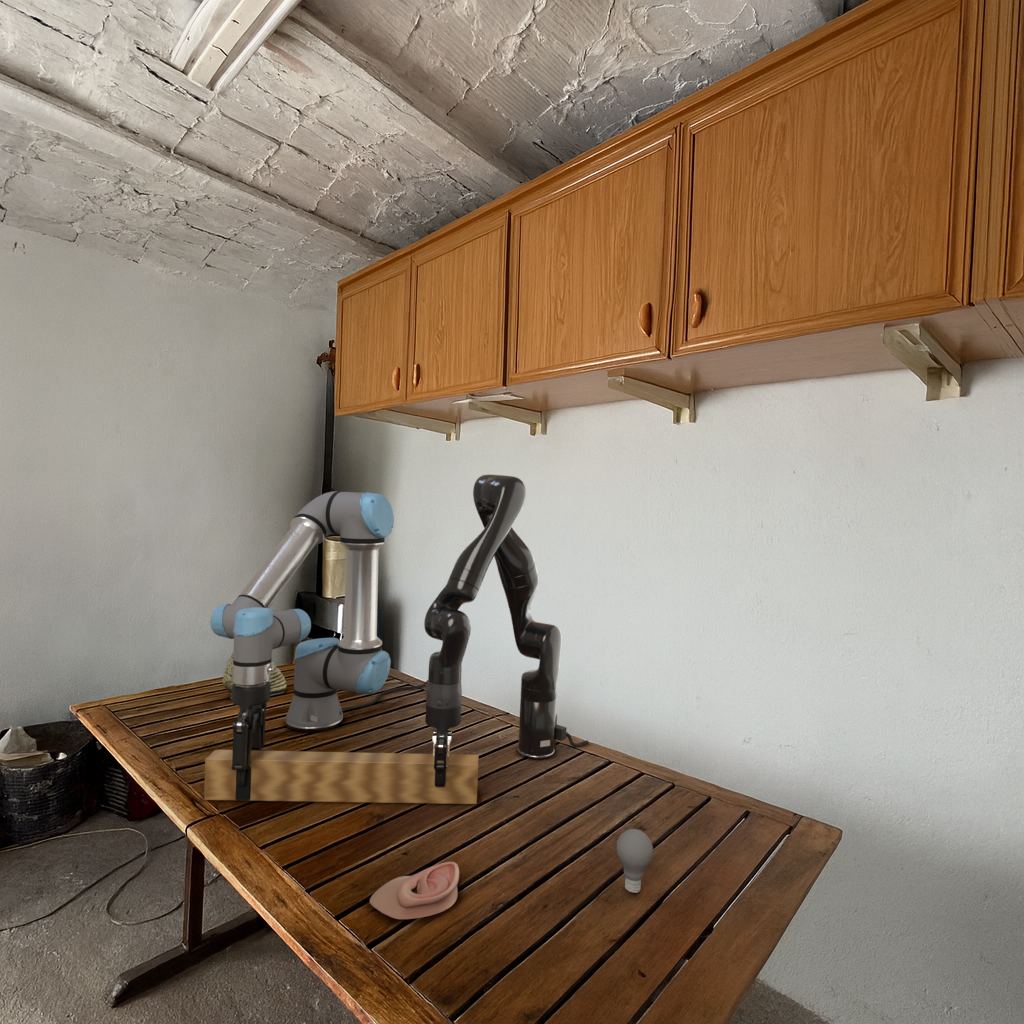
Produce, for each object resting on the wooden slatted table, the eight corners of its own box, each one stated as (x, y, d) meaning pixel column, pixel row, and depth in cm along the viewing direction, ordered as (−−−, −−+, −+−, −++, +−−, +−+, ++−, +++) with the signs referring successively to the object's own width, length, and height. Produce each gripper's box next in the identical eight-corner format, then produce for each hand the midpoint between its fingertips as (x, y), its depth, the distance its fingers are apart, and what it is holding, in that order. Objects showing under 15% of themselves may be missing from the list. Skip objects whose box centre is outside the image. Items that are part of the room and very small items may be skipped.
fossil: (218, 695, 195) (220, 647, 195) (278, 685, 208) (279, 640, 207) (228, 703, 189) (230, 653, 188) (289, 692, 201) (290, 645, 201)
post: (203, 800, 130) (205, 759, 130) (213, 788, 135) (215, 749, 135) (476, 804, 134) (478, 764, 133) (476, 793, 138) (478, 754, 138)
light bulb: (610, 879, 108) (613, 822, 108) (644, 879, 109) (647, 822, 109) (619, 902, 102) (622, 840, 102) (655, 901, 103) (658, 840, 103)
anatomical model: (361, 887, 97) (391, 847, 108) (360, 913, 97) (390, 870, 108) (444, 902, 94) (465, 860, 105) (443, 928, 94) (464, 883, 106)
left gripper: (255, 696, 124) (250, 814, 124) (283, 671, 142) (279, 774, 142) (215, 695, 123) (211, 813, 124) (248, 670, 142) (245, 773, 142)
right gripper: (460, 713, 128) (457, 796, 129) (462, 691, 143) (459, 766, 143) (423, 712, 128) (419, 795, 128) (428, 690, 142) (425, 765, 142)
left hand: (247, 792), depth 133 cm, fingers closed on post, 5 cm apart
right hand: (440, 779), depth 135 cm, fingers closed on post, 5 cm apart
